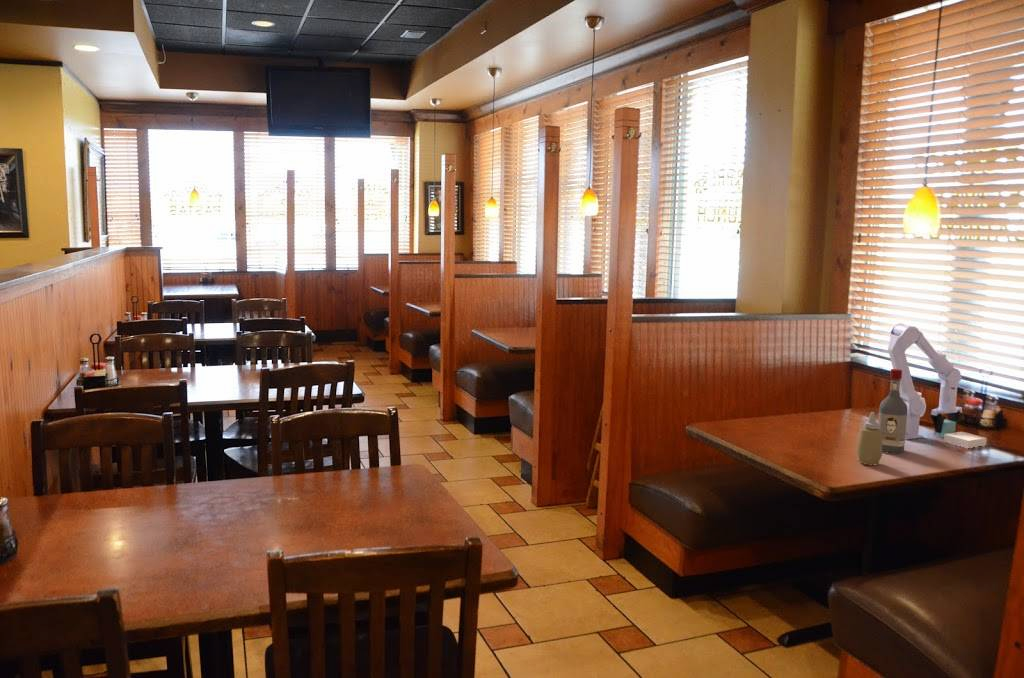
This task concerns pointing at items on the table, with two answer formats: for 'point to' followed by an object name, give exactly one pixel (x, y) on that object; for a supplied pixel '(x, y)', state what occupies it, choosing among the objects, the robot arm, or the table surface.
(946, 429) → the teal block
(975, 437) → the base board
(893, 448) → the liquor
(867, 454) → the squeeze bottle
